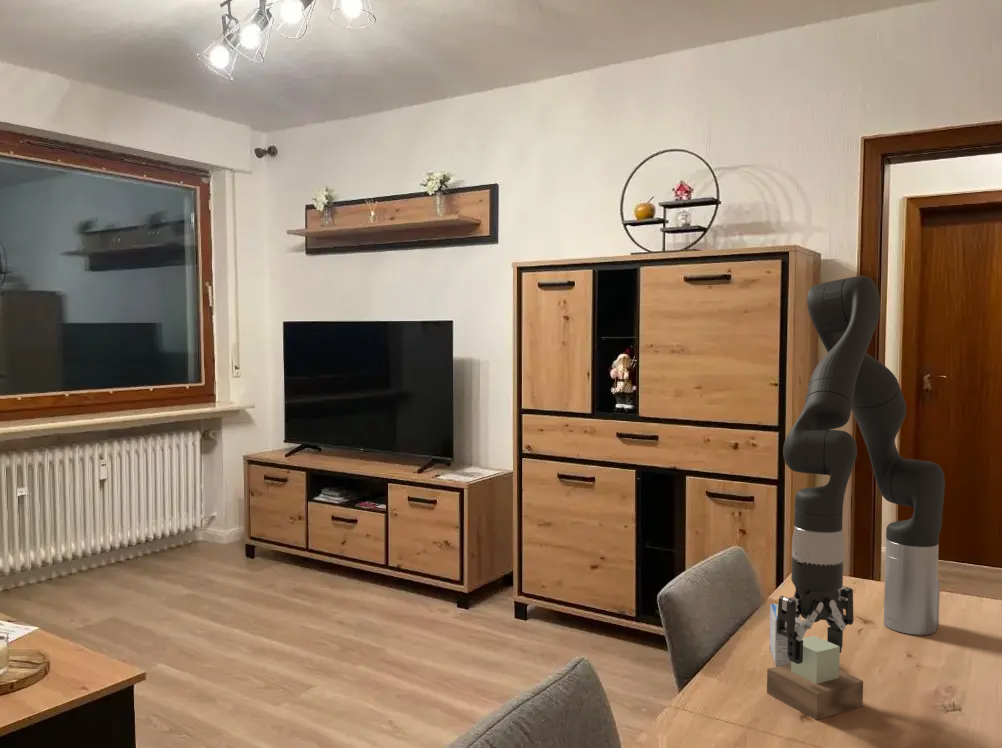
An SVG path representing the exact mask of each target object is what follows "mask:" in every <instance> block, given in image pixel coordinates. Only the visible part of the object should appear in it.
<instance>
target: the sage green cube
mask: <svg viewBox="0 0 1002 748" xmlns="http://www.w3.org/2000/svg"><path fill="white" fill-rule="evenodd" d="M802 640H803V662H802V663H800V664H796V663H794V662H792V661H791V672H793V673H795V674H797V675H799V676H801V677H803V678H805V679H807V680H809V681H811V682H813V683H815V684H818V683H822V682H826V681H829V680H833V679H836V678H839V670H840V659H841V658H840V655H841V653H840V646H837V645H835V644H833V643H830V642H828V641H827V639H823V638H820V637H818V636H816V635H811V636H808V637H803V638H802Z"/></svg>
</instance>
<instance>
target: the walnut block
mask: <svg viewBox="0 0 1002 748" xmlns="http://www.w3.org/2000/svg"><path fill="white" fill-rule="evenodd" d="M766 670H767V671H766V672H767V673H766V674H767V675H766V694H768V695H770V696H772V697H773V698H775V699H778V700H779V701H781V702H783V704H784V703H785V704H786V705H789V706H790V707H792V708H793V709H795V710H797V711H800V712H801V713H803V714H805V715H806V716H808V717H810V718H812V719H814V720H816V721H818V720H822V719H824V718H828V717H830V716H831V717H832V716H834V715H838V714H841V713H844V712H845V713H846V712H848V711H852V710H854V709H857V708H861V707H863V703H864V702H863V701H864V698H863V697H864V681H863V680H862V679H860V678H857V677H855V676H853V675H850V674H848V673H847V672H844V671H842V670H840V669H839V678H836V679H833V680H829V681H826V682H822V683H818V684H815V683H813V682H811V681H809V680H807V679H805V678H803V677H801V676H799V675H797V674H795V673H793V672H791V663H788V664H785V665H781V666H772V667H770V668H767V669H766Z"/></svg>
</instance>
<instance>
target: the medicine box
mask: <svg viewBox="0 0 1002 748" xmlns="http://www.w3.org/2000/svg"><path fill="white" fill-rule="evenodd" d="M800 616H801V615H799V619H802V618H801V617H800ZM777 618H778V603H770V605H769V650H770V653H771V656H772V659H773V662H774V665H775V667H777V666H781V665H785V664H788V663H791V661H790V660H789V658H788V655H787V649H788V648H787V646H788V639H787V637H785V636H783V635H780V634H778V633H777ZM799 626H800V625H797V627H796V628H795V631H797V630H798V628H799ZM785 628H787V622H785Z"/></svg>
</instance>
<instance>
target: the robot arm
mask: <svg viewBox="0 0 1002 748" xmlns="http://www.w3.org/2000/svg"><path fill="white" fill-rule="evenodd" d="M806 299H807V300H806V304H807V310H808V313H809V317H810V320H811V322H812V324H813V326H814V329H815V331H816V333H817V335H818V337H819V339H820V340H821V343H822V345H823V347H824V348H825V351H826V352H827V353H826V354H825V356H824V357H823V358H822V359H821V360H820V361H819V362H818V364H817V365H816V367H815V368H814V370H813V372H812V374H811V376H810V379H809V381H808V386H807V390H806V391H807V392H806V398H805V402H804V405H803V408H802V409H801V412H800V413H799V415H798V417H797V418H796V420H795V422H794V424H793V425H792V427H791V428H790V430H789V432H788V434H787V436H786V437H785V440H784V443H783V446H782V447H783V448H782V456H783V461H784V463H785V464H786V466H787V467H788V468H789V469H790V470H791V471H793V472H795V473H802V474H811V475H812V474H813V475H814V474H815V475H825V476H827V475H828V476H829V481H828V482H827V484H825V485H821V486H814V487H812V486H811V487H804V488H801V489H799V490H798V491H796V493H795V496H794V514H793V515H794V516H793V517H794V519H793V520H794V521H793V534H792V542H791V575H790V576H791V579H790V580H791V582H792V584H793V585H794V588H795V591H794V594H793V596H792V597H789V596H788V597H787V596H784V595H780V596H779V597H778V602H777V604H778V618H777V633H778V634H780V635H783V636H785V637H787V639H788V646H787V648H788V649H787V655H788V658H789V660H790V661H792V662H794V663H796V664H800V663H802V662H803V640H802V638H804V636H805V634H806V632H807V631H808V630H810V629H812V626H813V624H815V623H818V622H819V621H821V620H822V621H826V623H827V624H828V627H827V634H826V635H827V638H826V641H828V642H830V643H833V644H835V645H837V646H840V654H841V653H842V649H843V637H844V631H845V630H846V627H847V626H848V625H850V626H851V625H853V624H854V590H853V588H851V587H847V586H845V585H844V583H843V580H844V549H845V548H844V547H845V545H844V543H845V542H844V537H843V536H844V535H843V519H844V518H843V516H844V515H843V513H844V500H845V494H846V490H847V485H848V482H849V479H850V477H851V475H852V471H853V468H854V465H855V463H856V460H857V456H858V447H857V441H855V440H856V439H854V436H852V434H851V433H849V432H847V431H845V430H840V429H839V428H843V427H844V426H845V425H847V424H848V422H849V420H850V418H851V413H852V415H853V416H854V419H855V421H856V423H857V425H858V428H859V431H860V433H861V436H862V438H863V441H864V444H865V446H866V447H865V448H866V449H867V452H868V455H869V459H870V463H871V467H872V471H873V475H874V478H875V482H876V484H877V488H878V490H879V492H880V495H881V496H882V497H883V499H885V501H886V502H887V501H888V502H889V503H892V504H896V505H900V506H905V507H909V508H911V507H912V508H913V511H912V516H911V518H908V519H905V520H898V521H897V520H896V521H892V522H890V523H889V524H887V526H886V529H885V560H884V561H885V564H884V569H885V570H884V599H883V601H884V604H883V624H884V626H885V627H887V628H889V629H891V630H893V631H895V632H899V633H904V634H908V635H916V636H917V635H919V636H920V635H921V636H923V635H924V636H927V635H932V634H934V633H936V632H937V629H938V628H939V624H940V620H939V619H940V618H939V617H940V596H941V595H940V594H941V593H940V592H941V591H940V590H941V589H940V586H941V581H940V580H939V579H938V577H939V572H938V571H939V545H940V544H939V543H940V541H939V540H940V533H941V530H942V525H943V511H944V510H943V509H944V500H945V487H946V480H945V474H944V473H945V472H944V471H943V468H942V466H940V465H939V464H938V463H936V462H933V461H928V460H920V459H913V458H911V459H910V458H905V457H903V456H902V455H900V453H899V451H898V449H897V445H896V438H897V435H898V433H899V431H900V429H901V428H902V425H903V423H904V421H905V418H906V414H907V404H906V400H905V397H904V394H903V391H902V388H901V386H900V384H899V381H898V379H897V377H896V375H895V374H894V373H893V372H892V371H891V370H890V369H889V368H888V367H887V366H885V365H884V364H883V363H882V362H880V361H879V360H878V359H876V358H875V357H873V356H872V355H870V354H869V353H867V352H868V349H869V347H870V344H871V340H872V339H873V338H872V337H873V335H874V332H875V330H876V328H877V325H878V321H879V318H880V313H881V312H880V311H881V297H880V292H879V290H878V288H877V285H876V284H875V282H874V281H873V279H872V278H871V277H869V276H865V275H857V276H852V277H846V278H841V279H835V280H831V281H826V282H822V283H817V284H815V285H813V286H812V287H810V288H809V290H808V292H807V296H806ZM837 429H839V430H837ZM844 610H845V614H844ZM799 616H801V617H802V618H803V619H802V618H801V619H799ZM785 622H787V628H785ZM797 625H800V626H799V628H798V630H797V631H795V628H796V627H797Z"/></svg>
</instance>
